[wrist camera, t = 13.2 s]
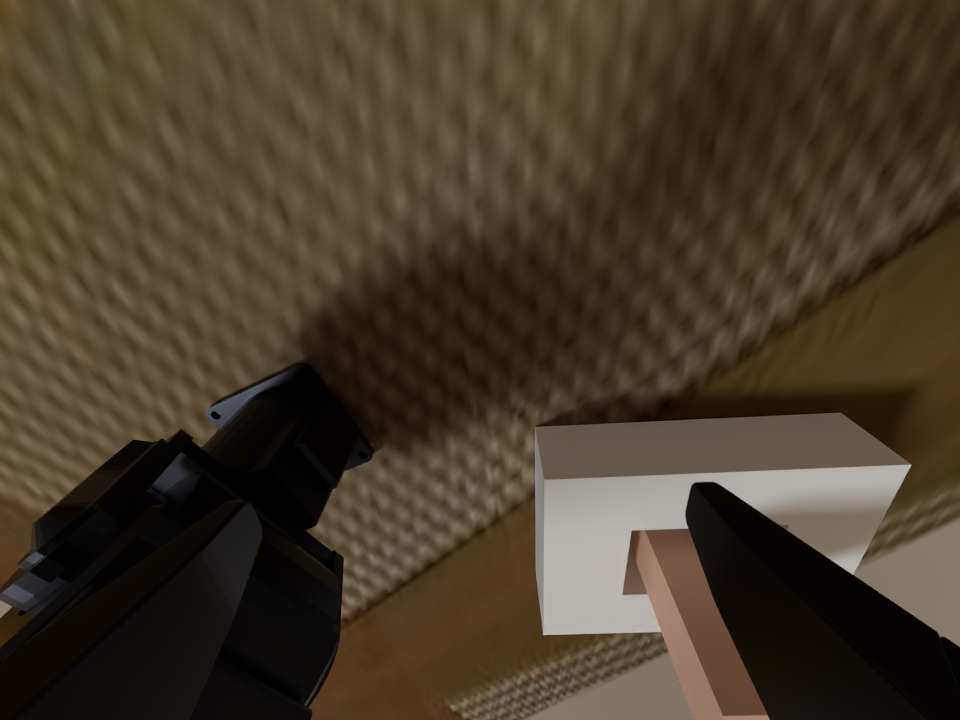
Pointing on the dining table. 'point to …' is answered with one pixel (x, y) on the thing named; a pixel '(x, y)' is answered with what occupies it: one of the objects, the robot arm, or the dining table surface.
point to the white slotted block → (664, 495)
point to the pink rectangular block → (694, 628)
